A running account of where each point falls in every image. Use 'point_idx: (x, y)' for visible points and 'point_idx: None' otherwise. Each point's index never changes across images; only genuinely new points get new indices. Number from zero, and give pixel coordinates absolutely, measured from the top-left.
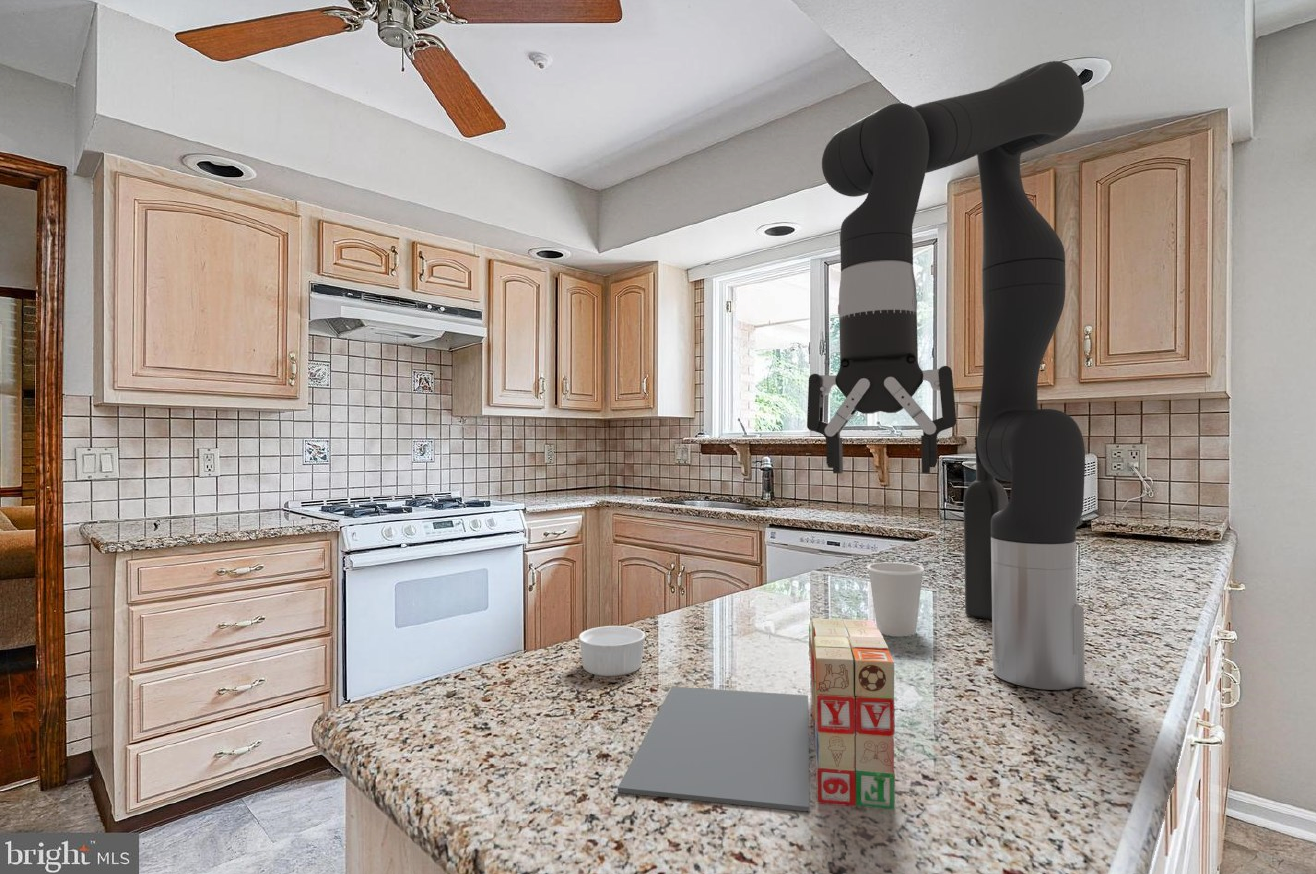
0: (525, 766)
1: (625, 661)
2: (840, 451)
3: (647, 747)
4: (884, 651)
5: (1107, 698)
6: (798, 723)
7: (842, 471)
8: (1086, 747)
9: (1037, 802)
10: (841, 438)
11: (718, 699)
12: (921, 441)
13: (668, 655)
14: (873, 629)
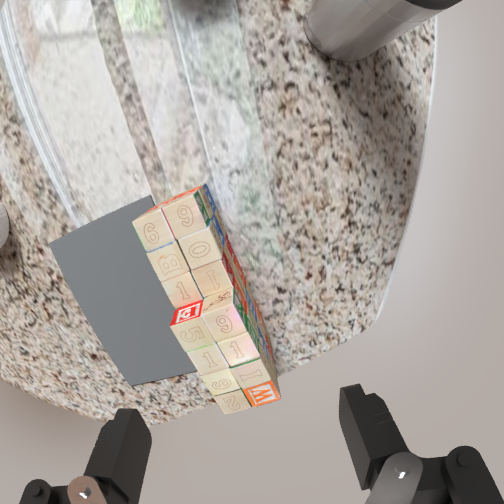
0: (76, 379)
1: (2, 238)
2: (135, 467)
3: (107, 344)
4: (268, 383)
5: (397, 62)
6: None
7: (136, 410)
8: (382, 181)
9: (346, 286)
10: (118, 483)
11: (91, 249)
12: (358, 478)
13: (5, 167)
14: (243, 336)
